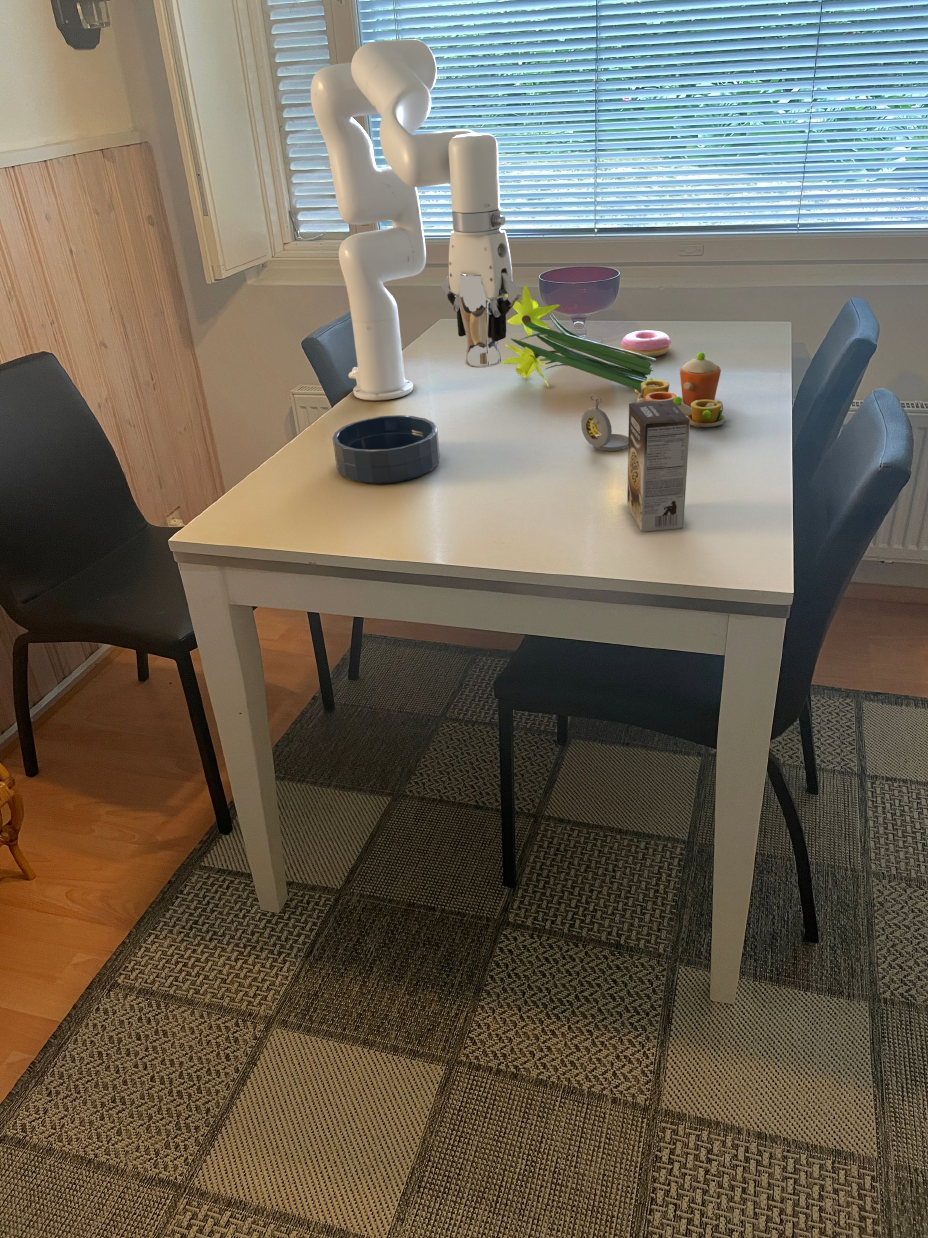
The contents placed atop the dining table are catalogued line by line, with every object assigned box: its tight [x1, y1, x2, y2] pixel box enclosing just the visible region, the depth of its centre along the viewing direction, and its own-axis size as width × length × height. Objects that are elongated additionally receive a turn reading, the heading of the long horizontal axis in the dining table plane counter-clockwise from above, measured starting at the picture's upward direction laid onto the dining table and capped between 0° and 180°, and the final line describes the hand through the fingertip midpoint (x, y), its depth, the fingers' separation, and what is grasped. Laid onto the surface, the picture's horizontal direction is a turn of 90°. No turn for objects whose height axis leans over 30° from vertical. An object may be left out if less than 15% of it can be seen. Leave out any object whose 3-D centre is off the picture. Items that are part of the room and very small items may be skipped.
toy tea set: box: [634, 352, 726, 428], centre depth 171 cm, size 26×16×10 cm, turn 176°
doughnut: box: [620, 329, 672, 358], centre depth 210 cm, size 11×11×4 cm
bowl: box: [331, 414, 441, 485], centre depth 160 cm, size 18×18×6 cm
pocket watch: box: [580, 394, 628, 452], centre depth 160 cm, size 8×8×10 cm
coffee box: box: [626, 400, 691, 533], centre depth 133 cm, size 9×6×16 cm
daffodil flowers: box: [500, 284, 657, 392], centre depth 192 cm, size 17×15×35 cm
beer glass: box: [458, 272, 502, 369], centre depth 156 cm, size 7×7×15 cm
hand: (482, 335), depth 157 cm, fingers closed on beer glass, 6 cm apart
